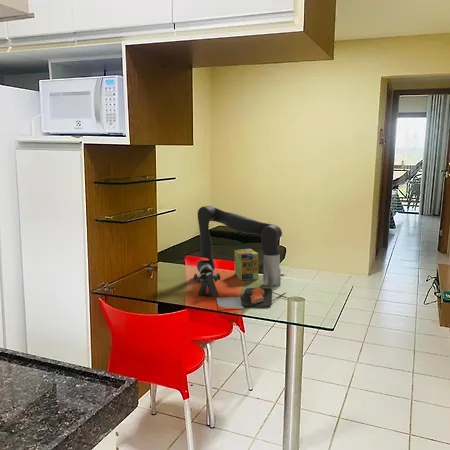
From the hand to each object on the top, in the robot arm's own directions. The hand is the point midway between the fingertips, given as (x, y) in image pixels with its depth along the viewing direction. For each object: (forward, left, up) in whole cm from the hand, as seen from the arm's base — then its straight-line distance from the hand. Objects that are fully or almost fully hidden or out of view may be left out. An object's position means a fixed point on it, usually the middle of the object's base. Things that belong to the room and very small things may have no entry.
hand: (207, 280), depth 243 cm
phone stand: (0, +6, -7) cm, 9 cm away
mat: (-10, +21, -7) cm, 24 cm away
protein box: (-24, -28, -7) cm, 38 cm away
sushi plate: (-32, +16, -7) cm, 37 cm away
